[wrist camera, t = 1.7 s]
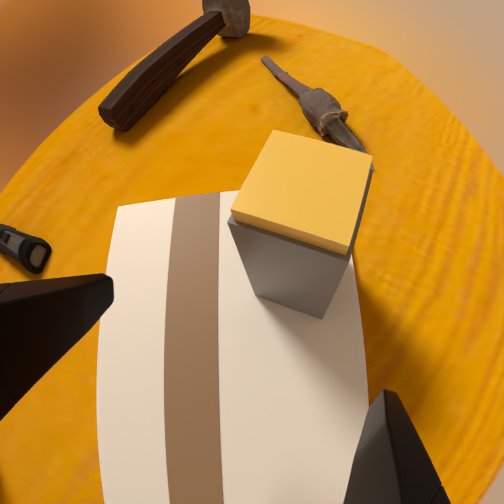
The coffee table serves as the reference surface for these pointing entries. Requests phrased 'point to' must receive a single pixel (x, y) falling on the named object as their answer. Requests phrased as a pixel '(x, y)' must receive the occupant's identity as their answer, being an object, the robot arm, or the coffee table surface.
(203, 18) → the hammer
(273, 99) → the coffee table surface
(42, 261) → the electric trimmer
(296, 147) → the yellow-topped grey block
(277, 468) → the board
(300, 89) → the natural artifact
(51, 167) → the coffee table surface
